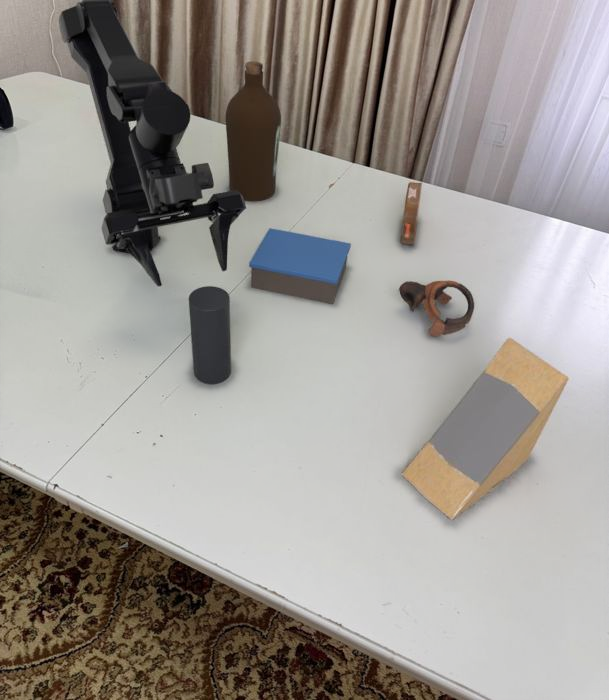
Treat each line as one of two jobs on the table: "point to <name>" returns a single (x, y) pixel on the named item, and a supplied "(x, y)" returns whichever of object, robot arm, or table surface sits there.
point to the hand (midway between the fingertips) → (192, 278)
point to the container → (299, 265)
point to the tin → (411, 213)
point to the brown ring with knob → (427, 294)
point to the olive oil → (253, 137)
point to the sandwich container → (488, 430)
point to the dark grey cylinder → (210, 334)
